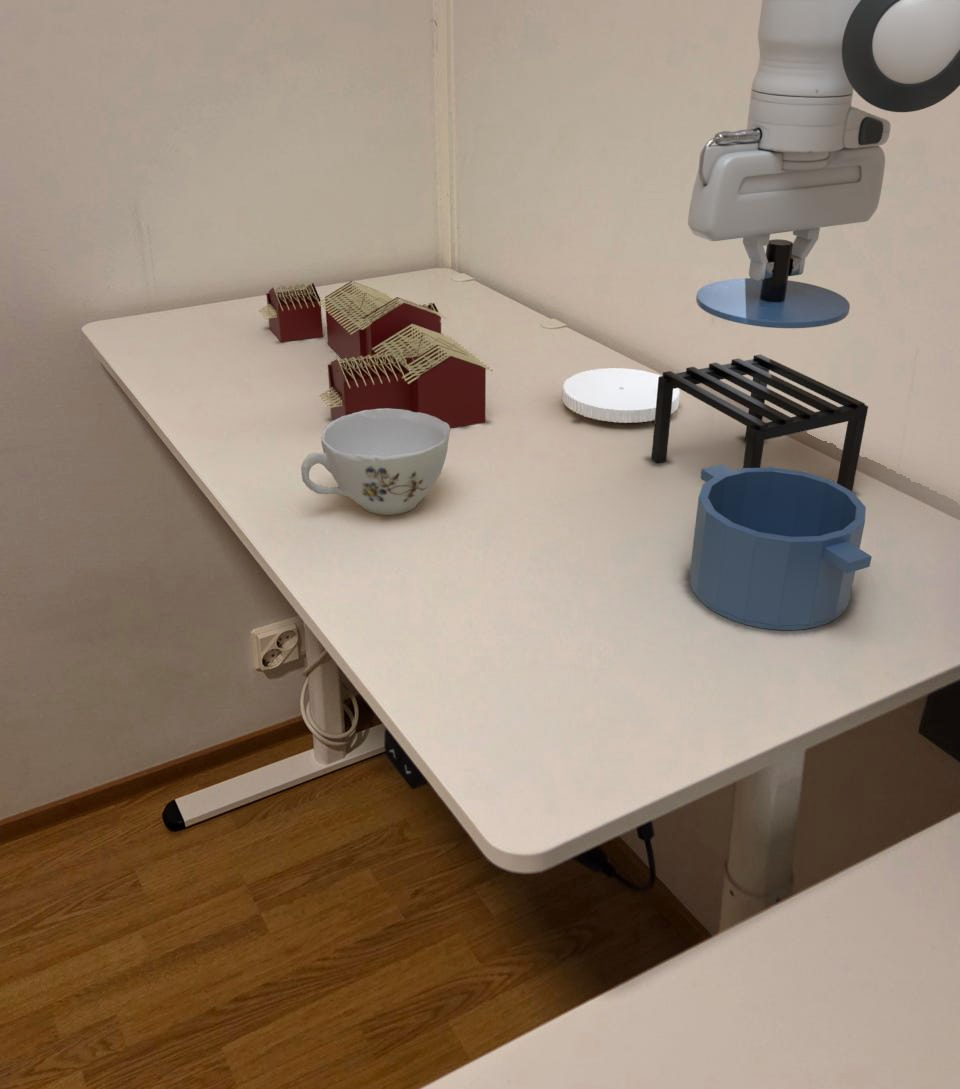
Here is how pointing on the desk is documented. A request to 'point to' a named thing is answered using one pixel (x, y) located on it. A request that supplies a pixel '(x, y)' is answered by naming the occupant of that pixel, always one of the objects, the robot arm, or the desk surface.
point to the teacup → (382, 458)
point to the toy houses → (384, 353)
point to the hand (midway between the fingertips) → (775, 276)
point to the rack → (764, 407)
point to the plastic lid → (615, 395)
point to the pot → (776, 547)
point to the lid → (773, 297)
